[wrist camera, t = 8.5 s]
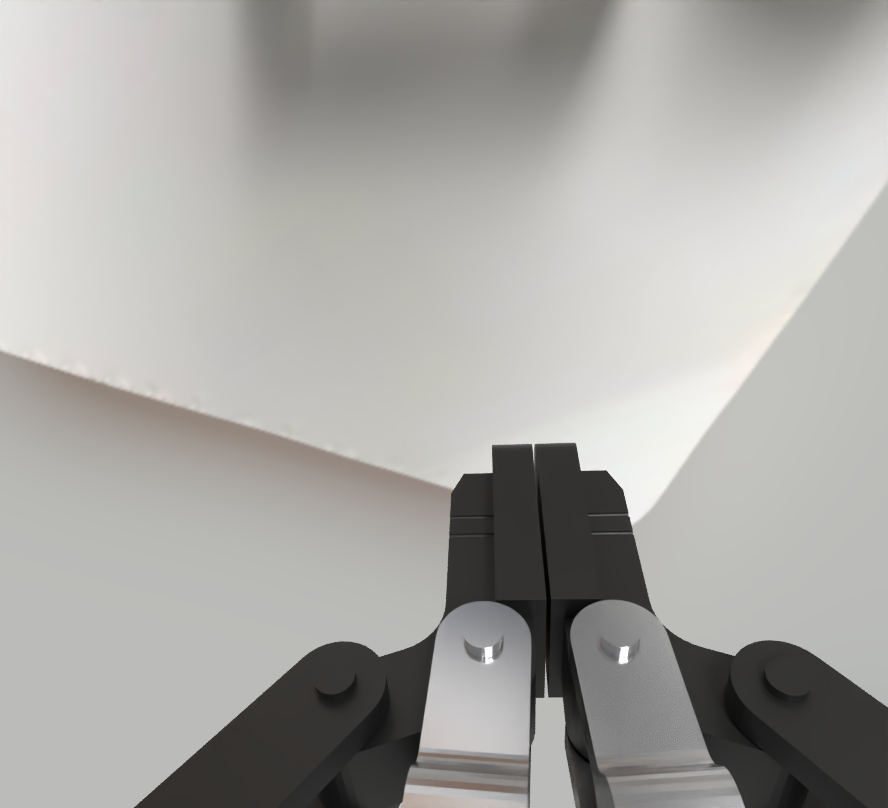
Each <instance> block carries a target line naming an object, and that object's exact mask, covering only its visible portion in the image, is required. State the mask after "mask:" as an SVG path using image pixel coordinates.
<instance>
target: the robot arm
mask: <svg viewBox="0 0 888 808" xmlns="http://www.w3.org/2000/svg"><path fill="white" fill-rule="evenodd" d="M492 462H493V473H483V474H464V475H463V476H462V478H461V479H460V481H459V482H458V484H457V486H456V487H455V489H454V490H453V492H452V493H451V511H450V532H449V534H450V538H449V552H448V573H447V594H446V608H445V612H444V615H443V618H442V620H441V622H440V624H439V625H438V627H437V628H436V629H435V630H434V632H433V633H431V635H429V636H428V637H427V638H426V639H424V640H423V641H422V642H420V643H418V644H416V645H415V646H412V647H409V648H407V649H404V650H401V651H398V652H394V653H391V654H388V655H384V656H381V657H378V655H377V654H376V653H375V652H373V651H372V650H371V649H369V648H367V647H366V646H364V645H361V644H358V643H354V642H334V643H330V644H326V645H323V646H321V647H319V648H317V649H315V650H313V651H311V652H310V653H309V654H307V655H306V656H305V657H303V658H302V659H301V660H300V661H299V662H298V663H297V664H296V665H294V666H293V667H292V668H291V669H290V670H289V671H288V672H287V673H285V674H284V675H283V676H282V677H281V678H280V679H279V680H277V681H276V682H275V683H274V684H273V685H272V686H271V687H270V688H269V689H267V690H266V691H265V692H264V693H263V694H262V695H261V696H259V697H258V698H257V699H256V700H255V701H254V702H253V703H252V704H250V705H249V706H248V707H247V708H246V709H245V710H244V711H242V712H241V713H240V714H239V715H238V716H237V717H236V718H235V719H233V720H232V721H231V722H230V723H229V724H228V725H227V726H226V727H224V728H223V729H222V730H221V731H220V732H219V733H218V734H217V735H216V736H214V737H213V738H212V739H211V740H210V741H209V742H207V743H206V744H205V745H204V746H203V747H202V748H201V749H200V750H198V751H197V752H196V753H195V754H194V755H193V756H192V757H191V758H189V759H188V760H187V761H186V762H185V763H184V764H183V765H182V766H180V767H179V768H178V769H177V770H176V771H175V772H174V773H173V774H171V775H170V776H169V777H168V778H167V779H166V780H165V781H164V782H162V783H161V784H160V785H159V786H158V787H157V788H156V789H155V790H153V791H152V792H151V793H150V794H149V795H148V796H147V797H145V798H144V799H143V800H142V801H141V802H140V803H139V804H138V805H137V806H136V807H134V808H398V807H399V805H400V803H402V802H403V803H402V808H530V767H531V764H530V763H531V744H532V742H533V740H534V735H535V704H536V702H535V701H536V698H544V688H545V687H544V685H545V662H546V673H547V685H548V697H563V702H564V713H565V722H566V724H565V750H566V756H567V761H568V767H569V772H570V778H571V784H572V789H573V795H574V801H575V806H576V808H888V707H886V706H885V705H883V704H882V703H881V702H879V701H878V700H876V699H875V698H874V697H872V696H871V695H869V694H868V693H867V692H865V691H864V690H862V689H861V688H860V687H858V686H857V685H855V684H854V683H853V682H851V681H850V680H849V679H847V678H846V677H844V676H843V675H841V674H840V673H839V672H837V671H836V670H834V669H833V668H832V667H830V666H829V665H828V664H826V663H825V662H823V661H822V660H821V659H819V658H818V657H816V656H815V655H813V654H811V653H810V652H808V651H807V650H805V649H802V648H801V647H798V646H796V645H793V644H790V643H786V642H781V641H770V640H769V641H759V642H754V643H752V644H749V645H747V646H745V647H744V648H742V649H741V650H740V651H739V652H738V653H737V654H736V656H732V655H728V654H725V653H721V652H717V651H714V650H710V649H706V648H703V647H699V646H697V645H693V644H691V643H689V642H687V641H684V640H683V639H681V638H679V637H677V636H676V635H674V634H673V633H672V632H670V631H669V630H668V629H667V628H666V627H665V626H664V625H663V624H662V623H661V622H660V621H659V619H658V618H657V617H656V615H655V613H654V612H653V610H652V607H651V604H650V601H649V597H648V593H647V588H646V584H645V580H644V576H643V572H642V568H641V564H640V559H639V555H638V551H637V547H636V543H635V539H634V535H633V532H632V531H633V530H632V526H631V522H630V517H629V516H628V509H627V505H626V501H625V496H624V492H623V489H622V488H621V487H620V486H619V485H618V484H617V482H616V481H615V480H614V479H613V478H612V477H611V475H610V474H609V473H608V472H607V471H581V470H580V464H579V458H578V453H577V447H576V444H575V443H550V444H535V448H534V461H533V450H532V444H518V445H492Z"/></svg>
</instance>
